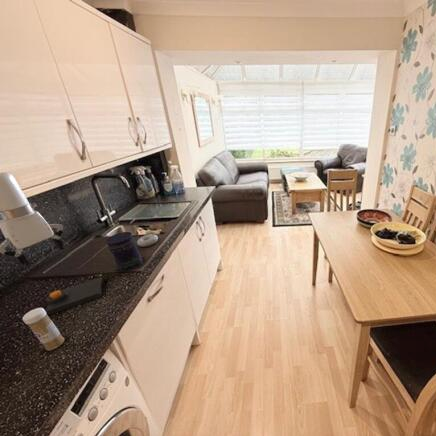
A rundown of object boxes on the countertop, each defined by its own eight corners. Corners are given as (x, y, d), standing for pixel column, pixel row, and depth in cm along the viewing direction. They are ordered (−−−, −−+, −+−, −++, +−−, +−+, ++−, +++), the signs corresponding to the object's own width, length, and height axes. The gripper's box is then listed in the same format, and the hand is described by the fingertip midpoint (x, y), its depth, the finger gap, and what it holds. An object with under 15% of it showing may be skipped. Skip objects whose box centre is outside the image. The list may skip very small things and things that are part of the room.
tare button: (50, 300, 89) (48, 297, 88) (52, 295, 91) (50, 292, 90) (60, 296, 90) (58, 293, 89) (62, 292, 92) (60, 289, 92)
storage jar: (113, 270, 108) (99, 242, 102) (130, 258, 117) (118, 231, 110) (132, 271, 106) (119, 243, 100) (147, 259, 115) (137, 232, 108)
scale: (46, 316, 86) (41, 308, 84) (55, 296, 95) (50, 289, 94) (101, 296, 93) (97, 289, 91) (104, 280, 102) (101, 273, 101)
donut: (137, 242, 131) (138, 250, 123) (135, 237, 129) (136, 244, 122) (157, 236, 135) (159, 243, 128) (155, 231, 134) (157, 238, 126)
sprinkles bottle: (42, 352, 72) (17, 321, 66) (52, 339, 76) (29, 308, 70) (59, 349, 73) (35, 317, 67) (68, 336, 77) (47, 305, 71)
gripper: (43, 201, 84) (67, 242, 92) (-29, 222, 70) (5, 269, 78) (55, 203, 82) (78, 245, 89) (-19, 225, 67) (16, 273, 75)
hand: (44, 256), depth 83 cm, fingers open, 9 cm apart
